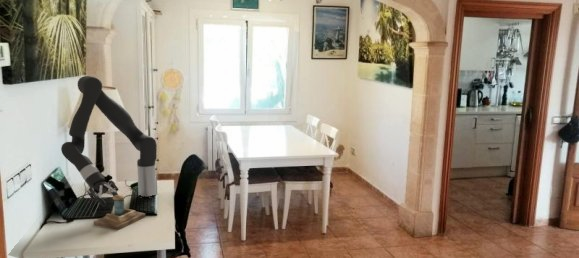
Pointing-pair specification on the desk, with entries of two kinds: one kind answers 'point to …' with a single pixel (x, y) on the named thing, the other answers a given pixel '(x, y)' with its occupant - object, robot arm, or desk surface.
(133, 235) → the desk surface
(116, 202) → the bobbin
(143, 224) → the desk surface
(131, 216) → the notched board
